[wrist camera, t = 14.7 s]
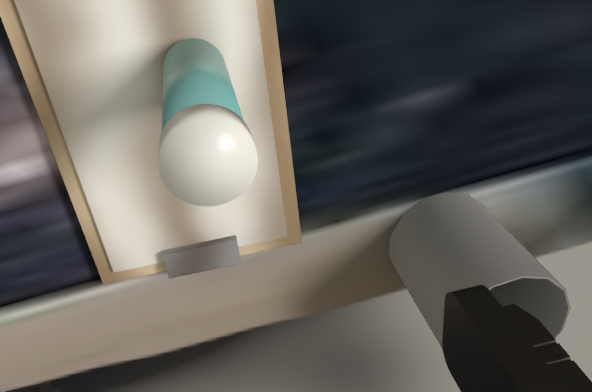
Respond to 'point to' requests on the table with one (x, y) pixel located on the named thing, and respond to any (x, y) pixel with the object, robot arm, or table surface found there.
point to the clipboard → (153, 126)
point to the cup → (470, 261)
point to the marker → (203, 128)
